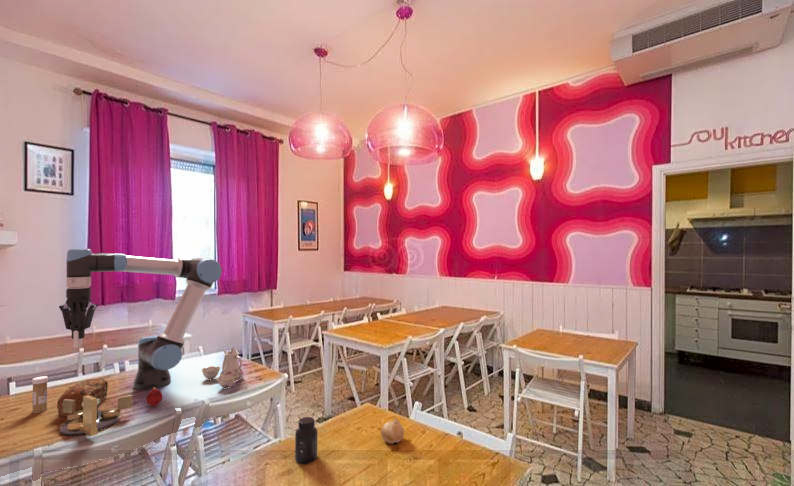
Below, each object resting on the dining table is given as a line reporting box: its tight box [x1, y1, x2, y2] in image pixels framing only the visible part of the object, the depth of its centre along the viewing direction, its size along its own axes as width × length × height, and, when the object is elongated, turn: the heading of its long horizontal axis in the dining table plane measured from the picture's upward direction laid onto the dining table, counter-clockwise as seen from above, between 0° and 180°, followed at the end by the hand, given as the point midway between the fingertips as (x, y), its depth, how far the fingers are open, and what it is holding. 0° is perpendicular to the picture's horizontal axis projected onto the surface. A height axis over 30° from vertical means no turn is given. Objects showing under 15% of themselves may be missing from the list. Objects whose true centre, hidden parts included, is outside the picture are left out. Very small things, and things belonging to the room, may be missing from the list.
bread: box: [56, 378, 109, 418], centre depth 157 cm, size 19×11×10 cm, turn 16°
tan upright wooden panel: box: [68, 395, 99, 437], centre depth 133 cm, size 14×6×12 cm, turn 61°
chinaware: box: [201, 347, 244, 389], centre depth 186 cm, size 28×17×17 cm, turn 54°
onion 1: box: [145, 387, 163, 408], centre depth 157 cm, size 6×6×8 cm
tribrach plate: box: [59, 394, 133, 437], centre depth 142 cm, size 22×18×8 cm
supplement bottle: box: [294, 416, 318, 465], centre depth 120 cm, size 7×7×12 cm
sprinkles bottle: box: [31, 375, 49, 414], centre depth 152 cm, size 5×5×14 cm
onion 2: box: [380, 418, 405, 445], centre depth 131 cm, size 8×8×7 cm
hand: (77, 346), depth 151 cm, fingers closed
